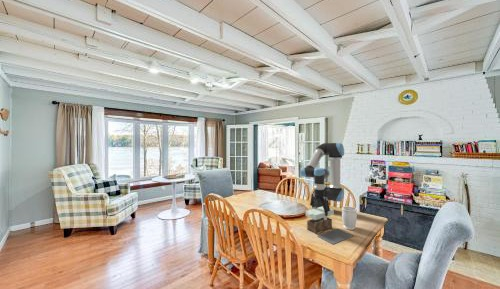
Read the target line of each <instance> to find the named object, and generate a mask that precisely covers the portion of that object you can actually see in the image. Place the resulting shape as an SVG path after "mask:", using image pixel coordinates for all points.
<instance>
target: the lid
mask: <svg viewBox="0 0 500 289" xmlns="http://www.w3.org/2000/svg"><path fill="white" fill-rule="evenodd" d="M334 213H335V210H334V208H333V209H332V208H330V211H328V216H327V217H329V216H333V215H334ZM305 217H308V218H310V219H314V220H318V219H321V218H324V208H323V206H322V207H318V208H315V209H309V210H305Z"/></svg>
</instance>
